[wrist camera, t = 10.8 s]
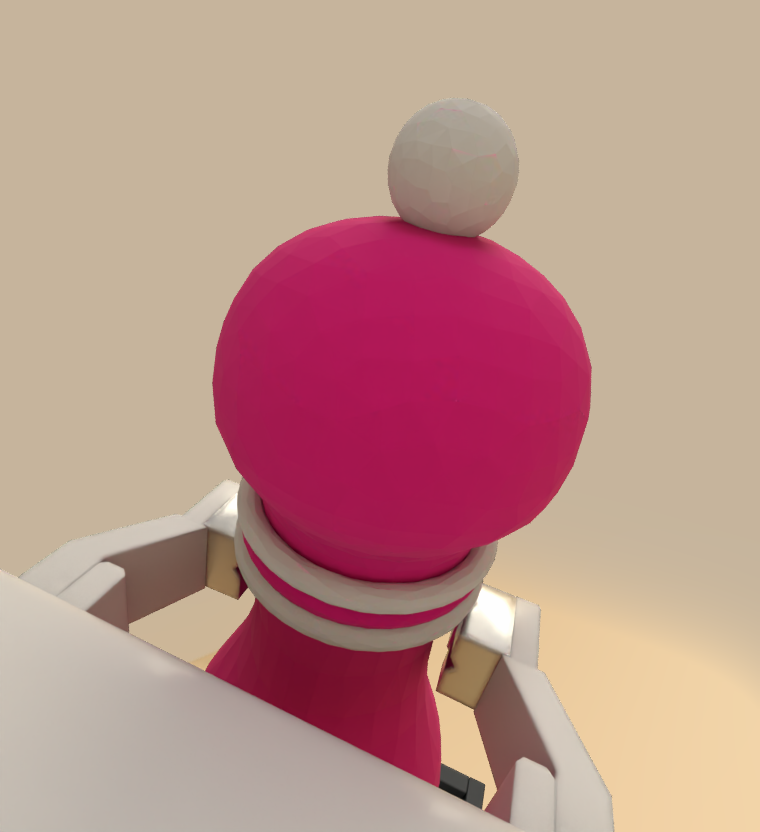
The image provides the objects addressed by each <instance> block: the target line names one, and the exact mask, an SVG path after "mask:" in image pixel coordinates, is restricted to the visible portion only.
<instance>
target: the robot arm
mask: <svg viewBox="0 0 760 832" xmlns="http://www.w3.org/2000/svg"><path fill="white" fill-rule="evenodd" d="M239 487H240V484H238V483H236V482H233V481H231V480H229V479H228V480H225V481H222V482H221V483H220V484H219V485H217V487H215V488H214V489H213V490H212V491H211V492H209V493H208V494H207V495H206V496H205V497H203V498H202V499H201V500H200V501H199V502H198V503H196V504H195V505H194V506H193V507H192V508H191V509H189V510H188V511H187V512H186V513H185V514H184V515H182V516H181V515H179V514H173V515H169V516H166V517H162V518H158V519H154V520H150V521H146V522H142V523H138V524H134V525H130V526H126V527H122V528H118V529H114V530H110V531H106V532H102V533H98V534H94V535H90V536H86V537H83V538H78V539H74V540H70V541H68V542H67V543H65V544H64V545H62V546H61V547H60V548H58V549H57V550H55V551H54V552H53V553H51V554H50V555H48V556H47V557H45V558H44V559H43V560H41V561H40V562H38V563H37V564H36V565H35V566H33V567H31V568H30V569H29V570H27V571H26V572H24V573H23V574H22V575H20V576H19V577H16V576H14V575H12V574H10V573H8V572H6V571H4V570H2V569H0V832H614V821H613V808H612V796H611V794H610V792H609V791H608V789H607V787H606V785H605V783H604V781H603V779H602V778H601V776H600V774H599V772H598V770H597V768H596V767H595V765H594V763H593V761H592V759H591V757H590V755H589V754H588V752H587V750H586V748H585V746H584V745H583V743H582V741H581V739H580V737H579V735H578V733H577V731H576V730H575V728H574V726H573V724H572V722H571V721H570V719H569V717H568V715H567V713H566V711H565V709H564V708H563V706H562V704H561V702H560V700H559V698H558V696H557V695H556V693H555V691H554V689H553V687H552V685H551V684H550V682H549V680H548V678H547V676H546V674H545V673H544V672H542V671H540V670H538V652H539V631H540V612H541V609H540V606H539V605H537V604H535V603H532V602H529V601H527V600H524V599H522V598H519V597H515V596H513V595H511V594H508V593H506V592H503V591H501V590H498V589H496V588H493V587H490V586H488V585H485V584H483V585H482V588H481V591H480V594H479V597H478V599H477V601H476V602H475V604H474V605H473V607H472V609H471V610H470V612H469V613H468V614H467V615H466V616H465V618H464V619H463V620H462V621H461V622H460V623H459V624H458V625H457V626H456V627H454V628H453V629H452V630H451V634H450V637H449V641H448V645H447V647H448V652H447V654H446V657H445V659H444V661H443V664H442V668H441V672H440V676H439V680H438V684H437V688H436V691H437V692H439V693H441V694H443V695H445V696H447V697H449V698H452V699H453V700H456V701H457V702H460V703H462V704H464V705H466V706H468V707H470V708H472V709H474V715H475V718H476V721H477V725H478V728H479V731H480V735H481V737H482V741H483V744H484V748H485V751H486V754H487V758H488V761H489V764H490V767H491V771H492V774H493V777H494V781H495V784H496V787H497V792H496V794H495V795H494V797H493V798H492V800H491V801H490V803H489V804H488V806H487V807H486V809H485V810H482V809H480V808H478V807H476V806H474V805H472V804H470V803H468V802H466V801H464V800H462V799H460V798H458V797H456V796H454V795H452V794H450V793H448V792H446V791H444V790H442V789H440V788H438V787H436V786H434V785H432V784H430V783H428V782H426V781H424V780H422V779H420V778H418V777H416V776H414V775H412V774H410V773H408V772H406V771H404V770H402V769H400V768H398V767H396V766H394V765H392V764H390V763H388V762H386V761H384V760H382V759H380V758H378V757H376V756H374V755H371V754H369V753H367V752H365V751H363V750H361V749H359V748H357V747H355V746H353V745H351V744H349V743H347V742H345V741H343V740H341V739H339V738H337V737H335V736H333V735H331V734H329V733H327V732H325V731H323V730H321V729H319V728H317V727H315V726H313V725H311V724H309V723H307V722H305V721H303V720H301V719H299V718H297V717H295V716H293V715H291V714H289V713H287V712H285V711H283V710H281V709H279V708H277V707H275V706H273V705H271V704H269V703H267V702H265V701H263V700H261V699H259V698H257V697H255V696H253V695H251V694H249V693H247V692H245V691H243V690H242V689H240V688H238V687H236V686H234V685H232V684H230V683H228V682H226V681H224V680H222V679H220V678H218V677H216V676H214V675H212V674H210V673H208V672H206V671H204V670H202V669H200V668H198V667H196V666H194V665H192V664H190V663H188V662H186V661H184V660H182V659H180V658H178V657H176V656H174V655H172V654H170V653H168V652H166V651H164V650H162V649H160V648H157V647H155V646H153V645H152V644H150V643H148V642H146V641H144V640H142V639H140V638H138V637H136V636H134V635H132V634H130V633H129V624H130V623H132V622H134V621H136V620H138V619H141V618H142V617H145V616H147V615H149V614H151V613H153V612H155V611H158V610H160V609H162V608H164V607H166V606H168V605H170V604H172V603H175V602H177V601H178V600H181V599H183V598H185V597H187V596H189V595H191V594H194V593H196V592H198V591H200V590H202V589H204V588H205V586H207V587H209V588H211V589H213V590H216V591H218V592H221V593H223V594H225V595H228V596H230V597H232V598H235V599H237V600H238V599H239V598H240V597H241V595H242V594H243V593H244V592H245V590H246V589H247V588H248V586H247V584H246V582H245V580H244V579H243V576H242V574H241V571H240V569H239V566H238V564H237V560H236V556H235V546H234V536H235V529H236V522H237V519H238V512H237V495H238V491H239Z"/></svg>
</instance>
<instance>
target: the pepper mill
mask: <svg viewBox="0 0 760 832" xmlns="http://www.w3.org/2000/svg"><path fill="white" fill-rule="evenodd" d="M518 173H519V159H518V154H517V149H516V144H515V139H514V137H513V135H512V132H511V130H510V129H509V127H508V126H507V125H506V123H505V122H504V120H503V119H502V117H501V116H500V115H499V114H498V113H496V112H495V111H494V110H492V109H491V108H490V107H489V106H487V105H485V104H481V103H479V102H476V101H473V100H470V99H464V98H451V99H444V100H440V101H437V102H434V103H432V104H428V105H427V106H425V107H424V108H423V109H421V110H419V111H418V112H416V113H415V114H414V115H413V116H412V117H411V118H410V119H409V120H408V121H407V123H406V124H405V125H404V127H403V128H402V130H401V131H400V133H399V135H398V136H397V138H396V140H395V143H394V146H393V148H392V151H391V154H390V156H389V164H388V186H389V190H390V195H391V199H392V203H393V204H394V206H395V208H396V210H397V212H398V213H399V215H400V217H389V216H373V217H362V218H351V219H344V220H340V221H336V222H332V223H329V224H326V225H322V226H319V227H315V228H312V229H309V230H306V231H304V232H303V233H301V234H299V235H297V236H295V237H294V238H292V239H290V240H288V241H286V242H285V243H283V244H282V245H280V246H278V247H277V248H276V249H275V250H273V251H272V252H271V253H270V254H269V255H268V256H267V257H266V258H265V259H264V260H262V261H261V262H260V263H259V264H258V265H257V266H256V267H255V268H254V269H253V270H252V272H251V273H250V275H249V277H248V278H247V279H246V281H245V282H244V284H243V286H242V287H241V289H240V290H239V292H238V293H237V295H236V296H235V298H234V300H233V302H232V304H231V307H230V309H229V311H228V314H227V316H226V318H225V320H224V323H223V326H222V330H221V333H220V337H219V340H218V344H217V347H216V356H215V365H214V374H213V382H212V384H213V396H214V407H215V419H216V425H217V427H218V429H219V431H220V433H221V436H222V438H223V440H224V442H225V444H226V447H227V449H228V451H229V454H230V456H231V458H232V460H233V463H234V465H235V467H236V469H237V470H238V471H239V473H240V474H241V475H242V476H243V478H242V480H241V482H240V487H239V491H238V495H237V512H238V519H237V522H236V529H235V536H234V546H235V556H236V560H237V564H238V566H239V569H240V571H241V574H242V576H243V579H244V580H245V582H246V584H247V586H248V588H249V589H250V590H251V592H252V593H253V594H254V596H255V597H256V598H255V603H254V605H253V607H252V609H251V611H250V613H249V615H248V616H247V618H246V619H245V620H244V622H243V623H242V624H241V625H240V626H239V627H238V628H237V630H236V631H235V632H234V633H233V634H232V635H231V636H230V638H229V639H228V640H227V641H226V642H225V643H224V644H223V646H222V647H221V648H220V649H219V651H218V652H217V653H216V655H215V656H214V657H213V659H212V660H211V662H210V663H209V665H208V666H207V668H206V670H205V671H206V672H208V673H210V674H212V675H214V676H216V677H218V678H220V679H222V680H224V681H226V682H228V683H230V684H232V685H234V686H236V687H238V688H240V689H242V690H243V691H245V692H247V693H249V694H251V695H253V696H255V697H257V698H259V699H261V700H263V701H265V702H267V703H269V704H271V705H273V706H275V707H277V708H279V709H281V710H283V711H285V712H287V713H289V714H291V715H293V716H295V717H297V718H299V719H301V720H303V721H305V722H307V723H309V724H311V725H313V726H315V727H317V728H319V729H321V730H323V731H325V732H327V733H329V734H331V735H333V736H335V737H337V738H339V739H341V740H343V741H345V742H347V743H349V744H351V745H353V746H355V747H357V748H359V749H361V750H363V751H365V752H367V753H369V754H371V755H374V756H376V757H378V758H380V759H382V760H384V761H386V762H388V763H390V764H392V765H394V766H396V767H398V768H400V769H402V770H404V771H406V772H408V773H410V774H412V775H414V776H416V777H418V778H420V779H422V780H424V781H426V782H428V783H430V784H432V785H434V786H436V787H439V783H440V769H441V735H440V724H439V716H438V711H437V707H436V702H435V698H434V695H433V692H432V689H431V685H430V682H429V679H428V676H427V666H428V659H429V655H430V651H431V647H432V643H433V640H435V639H437V638H439V637H441V636H443V635H444V634H446V633H448V632H449V631H451V630H452V629H453V628H454V627H456V626H457V625H458V624H459V623H460V622H461V621H462V620H463V619H464V618H465V616H466V615H467V614H468V613H469V612H470V610H471V609H472V607H473V605H474V604H475V602H476V601H477V599H478V597H479V594H480V591H481V588H482V585H483V578H484V577H485V576H486V575H487V573H488V571H489V569H490V568H491V566H492V564H493V562H494V560H495V556H496V552H497V544H498V540H499V539H501V538H503V537H505V536H507V535H509V534H510V533H512V532H514V531H516V530H518V529H520V528H522V527H523V526H525V525H527V524H529V523H530V522H531V521H532V520H533V519H534V518H535V517H536V516H537V515H538V514H539V513H540V512H541V511H543V510H544V508H545V507H546V506H547V505H548V504H549V502H550V501H551V500H552V499H553V497H554V496H555V495H556V494H557V493H558V491H559V489H560V488H561V486H562V484H563V482H564V481H565V479H566V477H567V475H568V474H569V472H570V470H571V469H572V467H573V465H574V462H575V459H576V456H577V452H578V449H579V446H580V443H581V440H582V437H583V434H584V431H585V428H586V424H587V421H588V417H589V411H590V397H591V363H590V359H589V356H588V352H587V348H586V344H585V341H584V337H583V333H582V329H581V327H580V325H579V323H578V321H577V320H576V318H575V316H574V314H573V313H572V311H571V309H570V308H569V306H568V304H567V302H566V301H565V299H564V298H563V296H562V295H561V294H560V293H559V292H558V291H557V290H556V289H555V288H554V286H553V285H552V284H551V283H550V282H549V281H548V280H547V279H546V278H545V276H544V275H542V274H541V273H540V272H538V271H537V270H536V269H535V268H533V267H532V266H531V265H530V264H528V263H527V262H526V261H525V260H523V259H522V258H521V257H520V256H518V255H516V254H514V253H513V252H511V251H509V250H508V249H505V248H504V247H502V246H501V245H499V244H497V243H495V242H494V241H492V240H489V239H486V238H484V237H481V236H478V235H479V234H481V233H483V232H485V231H486V230H488V229H489V228H490V227H491V226H492V225H494V224H495V223H496V221H497V220H498V219H499V218H500V217H501V215H502V214H503V213H504V211H505V210H506V208H507V206H508V204H509V202H510V201H511V198H512V196H513V193H514V190H515V188H516V185H517V181H518Z"/></svg>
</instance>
